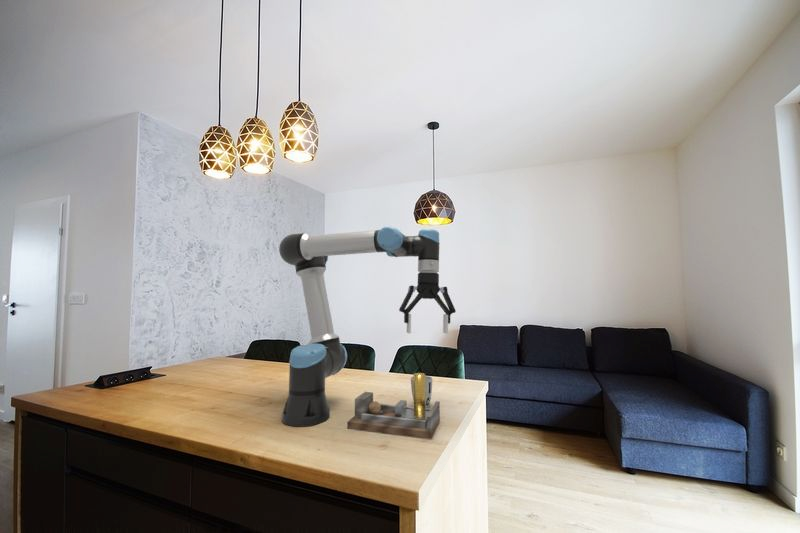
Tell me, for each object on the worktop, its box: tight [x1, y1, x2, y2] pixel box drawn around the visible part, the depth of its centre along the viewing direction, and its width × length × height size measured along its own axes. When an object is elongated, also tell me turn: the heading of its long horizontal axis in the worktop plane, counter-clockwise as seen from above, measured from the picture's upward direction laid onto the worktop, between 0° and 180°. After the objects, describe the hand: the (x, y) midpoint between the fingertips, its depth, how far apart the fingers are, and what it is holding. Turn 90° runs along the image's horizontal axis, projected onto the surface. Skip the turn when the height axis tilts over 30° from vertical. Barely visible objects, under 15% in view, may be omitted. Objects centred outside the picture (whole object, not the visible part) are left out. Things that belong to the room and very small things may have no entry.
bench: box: [346, 391, 441, 440], centre depth 99 cm, size 26×14×8 cm, turn 73°
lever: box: [395, 372, 430, 426], centre depth 98 cm, size 10×8×14 cm
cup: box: [410, 375, 433, 409], centre depth 117 cm, size 8×8×10 cm
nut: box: [369, 400, 381, 415], centre depth 101 cm, size 4×4×4 cm
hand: (427, 333), depth 111 cm, fingers open, 13 cm apart
